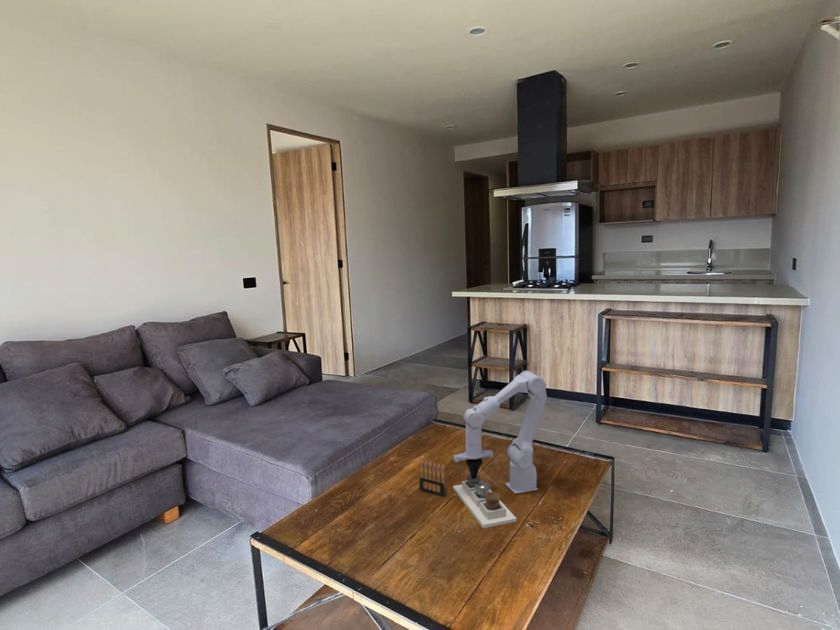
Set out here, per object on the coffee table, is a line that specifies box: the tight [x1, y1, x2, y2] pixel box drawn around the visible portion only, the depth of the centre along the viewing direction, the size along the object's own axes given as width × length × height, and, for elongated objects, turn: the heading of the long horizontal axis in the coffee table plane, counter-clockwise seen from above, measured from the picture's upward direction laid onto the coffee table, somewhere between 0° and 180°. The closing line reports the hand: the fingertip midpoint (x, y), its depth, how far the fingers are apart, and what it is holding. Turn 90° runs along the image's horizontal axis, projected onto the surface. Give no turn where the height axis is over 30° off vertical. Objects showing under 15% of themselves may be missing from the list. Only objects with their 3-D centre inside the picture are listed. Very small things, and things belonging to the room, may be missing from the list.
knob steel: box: [475, 480, 491, 498], centre depth 164 cm, size 5×5×4 cm
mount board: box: [452, 479, 517, 529], centre depth 165 cm, size 12×27×4 cm, turn 17°
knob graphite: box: [466, 474, 482, 488], centre depth 172 cm, size 5×5×4 cm
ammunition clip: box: [418, 459, 447, 498], centre depth 173 cm, size 11×2×12 cm, turn 59°
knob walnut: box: [485, 491, 501, 510], centre depth 157 cm, size 5×5×4 cm
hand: (473, 477), depth 172 cm, fingers closed, pressing on knob graphite
